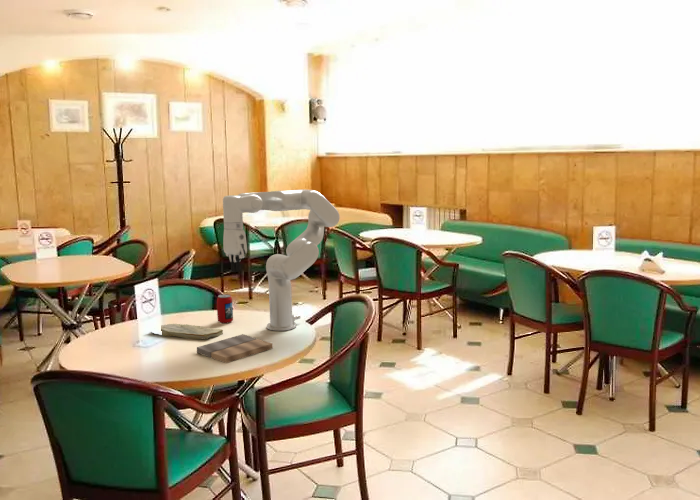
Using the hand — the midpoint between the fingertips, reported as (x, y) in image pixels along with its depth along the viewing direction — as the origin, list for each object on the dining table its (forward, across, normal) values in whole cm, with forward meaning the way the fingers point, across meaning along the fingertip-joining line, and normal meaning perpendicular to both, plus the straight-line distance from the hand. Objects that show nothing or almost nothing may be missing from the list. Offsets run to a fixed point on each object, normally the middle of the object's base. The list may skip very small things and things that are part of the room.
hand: (235, 271), depth 261 cm
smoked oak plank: (+27, -10, +13) cm, 31 cm away
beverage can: (+27, +22, -10) cm, 36 cm away
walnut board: (+27, -19, +13) cm, 36 cm away
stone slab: (+28, +20, +12) cm, 36 cm away
